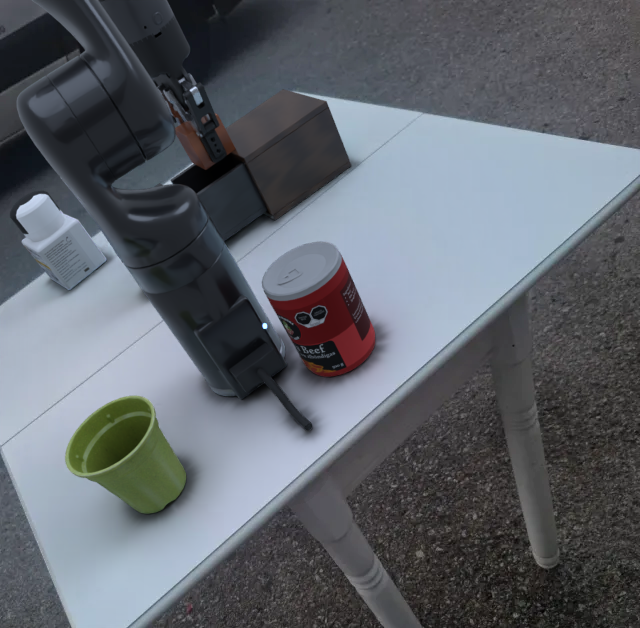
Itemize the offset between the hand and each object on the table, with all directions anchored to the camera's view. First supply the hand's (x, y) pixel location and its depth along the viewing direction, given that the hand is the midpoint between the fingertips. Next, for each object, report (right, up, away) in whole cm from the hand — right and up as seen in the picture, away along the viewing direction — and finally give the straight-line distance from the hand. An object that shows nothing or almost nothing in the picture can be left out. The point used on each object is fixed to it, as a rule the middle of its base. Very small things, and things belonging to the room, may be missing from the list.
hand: (211, 154), depth 95 cm
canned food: (+17, -29, -22) cm, 40 cm away
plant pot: (-1, -43, -25) cm, 50 cm away
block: (0, 0, 0) cm, 0 cm away
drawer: (0, -8, +5) cm, 10 cm away
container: (-23, -12, +17) cm, 31 cm away
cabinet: (+11, -1, +8) cm, 13 cm away
